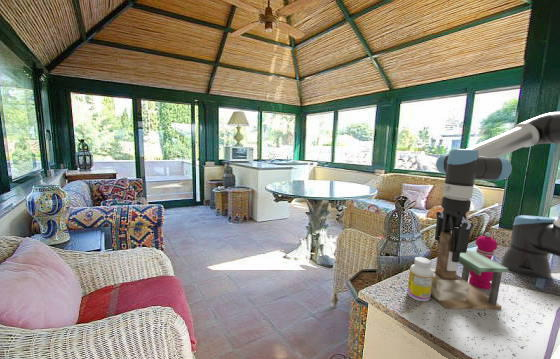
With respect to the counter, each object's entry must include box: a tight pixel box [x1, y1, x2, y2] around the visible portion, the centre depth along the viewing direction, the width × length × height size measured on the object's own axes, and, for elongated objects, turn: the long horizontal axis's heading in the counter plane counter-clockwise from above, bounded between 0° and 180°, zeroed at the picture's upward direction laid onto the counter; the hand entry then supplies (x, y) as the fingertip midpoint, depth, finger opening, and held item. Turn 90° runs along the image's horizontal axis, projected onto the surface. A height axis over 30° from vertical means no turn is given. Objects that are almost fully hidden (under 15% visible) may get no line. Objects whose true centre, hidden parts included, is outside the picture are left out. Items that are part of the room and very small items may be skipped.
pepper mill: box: [468, 232, 498, 290], centre depth 91 cm, size 7×7×20 cm
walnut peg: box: [435, 231, 458, 280], centre depth 83 cm, size 4×4×15 cm
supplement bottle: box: [407, 256, 433, 302], centre depth 83 cm, size 7×7×13 cm
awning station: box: [430, 250, 509, 310], centre depth 84 cm, size 19×14×13 cm
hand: (446, 266), depth 84 cm, fingers closed on walnut peg, 4 cm apart
